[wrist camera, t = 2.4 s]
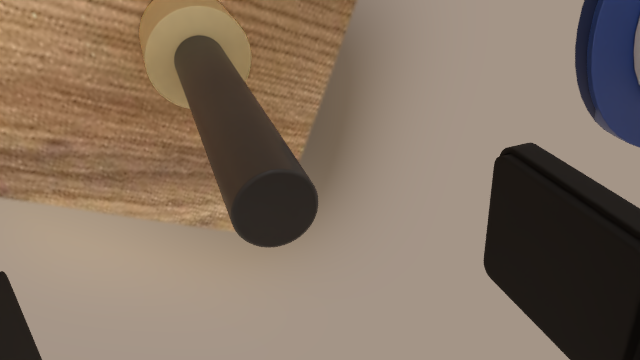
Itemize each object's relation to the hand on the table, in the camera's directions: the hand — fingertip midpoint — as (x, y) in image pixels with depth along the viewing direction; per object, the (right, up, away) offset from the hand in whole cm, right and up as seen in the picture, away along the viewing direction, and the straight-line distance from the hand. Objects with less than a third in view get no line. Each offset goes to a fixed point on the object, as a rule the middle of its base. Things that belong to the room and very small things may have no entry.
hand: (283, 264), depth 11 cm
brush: (-5, +8, +15) cm, 18 cm away
